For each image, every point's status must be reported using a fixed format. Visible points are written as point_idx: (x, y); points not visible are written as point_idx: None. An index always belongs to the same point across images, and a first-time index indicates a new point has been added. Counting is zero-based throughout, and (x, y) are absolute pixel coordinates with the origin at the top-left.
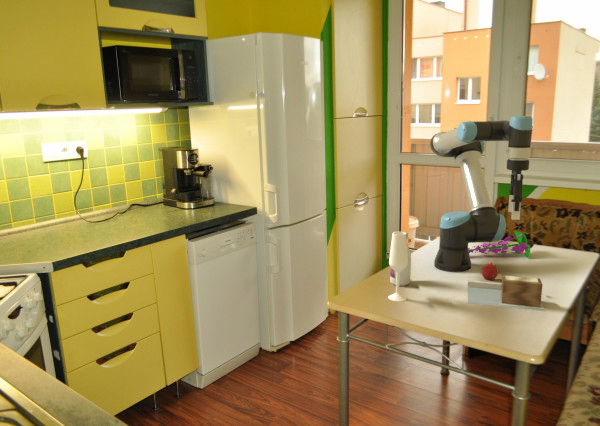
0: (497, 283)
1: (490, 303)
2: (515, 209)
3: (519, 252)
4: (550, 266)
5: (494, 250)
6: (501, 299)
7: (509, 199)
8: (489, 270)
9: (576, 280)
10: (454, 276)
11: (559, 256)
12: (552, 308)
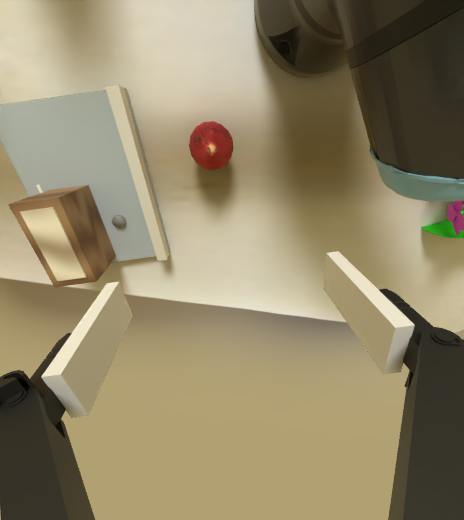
0: (138, 174)
1: (26, 165)
2: (58, 347)
3: (447, 208)
4: (367, 269)
5: None
6: (58, 189)
7: (371, 302)
8: (192, 147)
9: (286, 307)
10: (214, 26)
11: (442, 283)
12: (110, 275)
